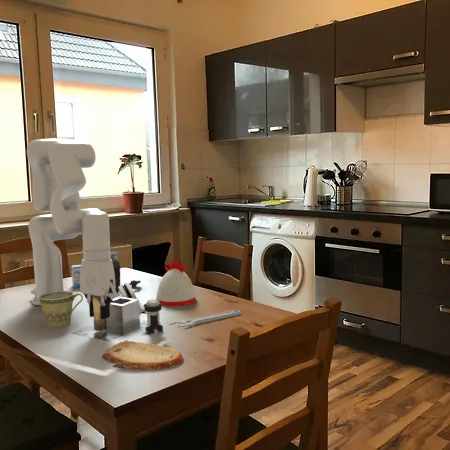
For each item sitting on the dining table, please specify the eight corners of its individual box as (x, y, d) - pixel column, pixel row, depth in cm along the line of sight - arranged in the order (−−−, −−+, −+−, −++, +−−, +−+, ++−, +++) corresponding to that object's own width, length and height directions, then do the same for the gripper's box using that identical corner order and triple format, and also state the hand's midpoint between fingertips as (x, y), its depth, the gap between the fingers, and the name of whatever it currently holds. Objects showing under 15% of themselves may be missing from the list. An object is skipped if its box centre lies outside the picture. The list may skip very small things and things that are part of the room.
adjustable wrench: (237, 313, 171) (237, 308, 171) (247, 318, 166) (247, 313, 165) (167, 326, 159) (167, 321, 159) (176, 332, 153) (176, 327, 153)
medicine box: (73, 288, 207) (72, 267, 206) (72, 285, 211) (71, 265, 210) (93, 286, 210) (92, 265, 209) (92, 283, 214) (91, 263, 213)
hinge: (147, 314, 170) (136, 287, 168) (134, 320, 169) (122, 293, 167) (138, 301, 186) (128, 276, 184) (126, 307, 185) (115, 282, 183)
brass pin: (91, 329, 151) (89, 296, 149) (100, 325, 154) (98, 293, 152) (100, 331, 149) (99, 297, 147) (109, 327, 152) (107, 294, 150)
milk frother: (90, 291, 202) (88, 254, 200) (120, 283, 214) (118, 247, 213) (116, 296, 194) (114, 257, 192) (145, 287, 206) (144, 250, 204)
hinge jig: (71, 336, 151) (69, 309, 150) (116, 318, 167) (114, 294, 166) (110, 344, 143) (108, 316, 142) (152, 324, 160) (151, 299, 159)
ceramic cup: (45, 334, 153) (43, 301, 152) (38, 325, 162) (35, 294, 160) (89, 325, 160) (87, 294, 159) (79, 317, 169) (77, 287, 167)
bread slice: (189, 364, 130) (188, 349, 130) (120, 381, 121) (119, 366, 120) (159, 343, 145) (158, 330, 145) (96, 357, 136) (95, 343, 135)
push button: (145, 340, 147) (143, 305, 145) (137, 335, 151) (136, 301, 150) (166, 335, 150) (165, 301, 149) (158, 330, 155) (157, 297, 153)
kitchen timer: (186, 307, 178) (184, 264, 176) (150, 304, 182) (148, 262, 180) (201, 297, 191) (199, 257, 189) (166, 294, 195) (165, 255, 193)
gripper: (66, 254, 149) (69, 316, 152) (109, 260, 141) (112, 325, 143) (85, 250, 155) (88, 309, 158) (128, 255, 147) (130, 317, 150)
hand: (99, 316), depth 151 cm, fingers closed on brass pin, 3 cm apart
